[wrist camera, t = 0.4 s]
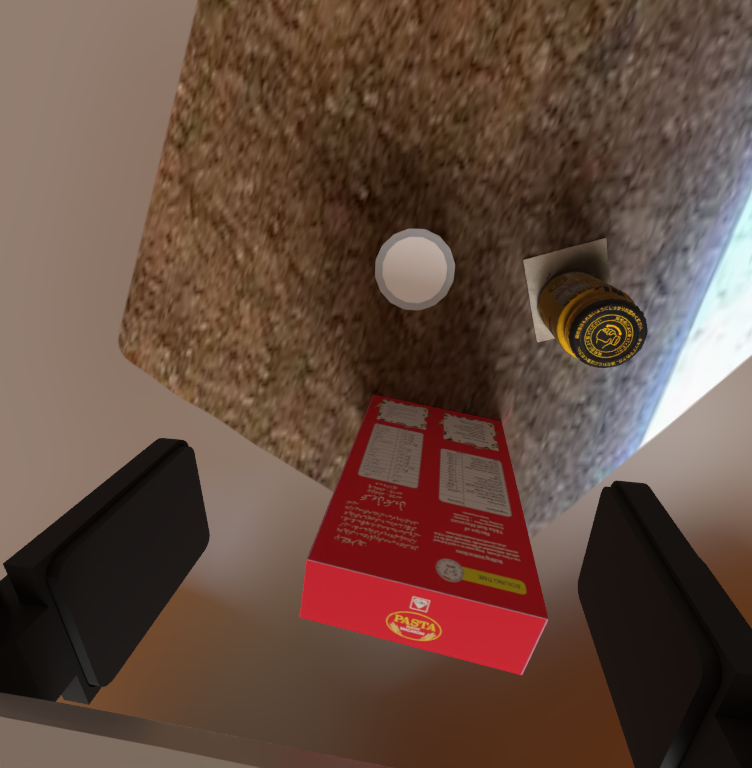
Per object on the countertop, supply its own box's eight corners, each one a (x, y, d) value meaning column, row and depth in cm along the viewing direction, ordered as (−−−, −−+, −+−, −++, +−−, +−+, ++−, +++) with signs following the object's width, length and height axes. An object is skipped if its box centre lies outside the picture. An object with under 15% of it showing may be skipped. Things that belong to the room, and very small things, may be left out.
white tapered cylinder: (425, 308, 44) (421, 326, 38) (372, 268, 43) (359, 279, 37) (469, 253, 41) (472, 262, 35) (412, 209, 41) (406, 210, 34)
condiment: (536, 341, 44) (565, 387, 33) (522, 259, 41) (549, 279, 30) (613, 324, 42) (671, 367, 31) (604, 237, 39) (665, 250, 28)
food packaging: (366, 433, 51) (299, 617, 28) (373, 394, 49) (306, 559, 26) (489, 460, 50) (521, 675, 27) (501, 421, 48) (548, 619, 25)
